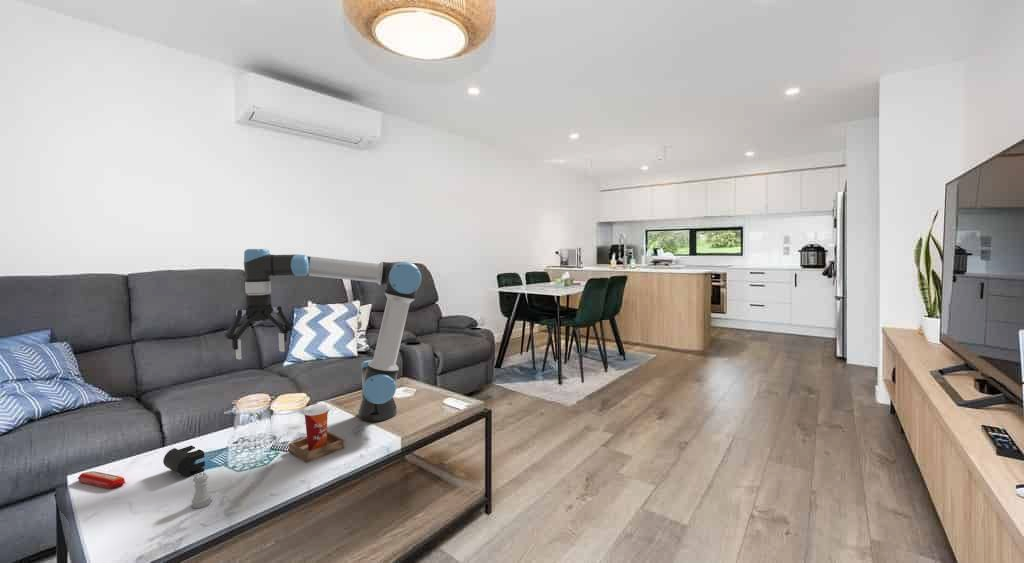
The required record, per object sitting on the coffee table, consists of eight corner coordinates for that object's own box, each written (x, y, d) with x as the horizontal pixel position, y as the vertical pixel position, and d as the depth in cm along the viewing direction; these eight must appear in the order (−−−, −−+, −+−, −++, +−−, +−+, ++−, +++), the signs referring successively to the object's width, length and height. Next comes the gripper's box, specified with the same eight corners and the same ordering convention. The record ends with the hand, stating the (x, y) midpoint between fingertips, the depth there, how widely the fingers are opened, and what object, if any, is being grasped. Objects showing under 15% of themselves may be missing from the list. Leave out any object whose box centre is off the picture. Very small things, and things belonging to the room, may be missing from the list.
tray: (326, 438, 149) (326, 430, 149) (344, 448, 142) (344, 439, 142) (289, 452, 139) (288, 443, 139) (306, 463, 132) (305, 453, 132)
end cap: (163, 473, 126) (162, 451, 126) (190, 463, 132) (189, 442, 132) (178, 482, 121) (177, 459, 121) (206, 471, 127) (204, 450, 127)
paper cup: (320, 453, 136) (318, 412, 135) (299, 451, 138) (298, 410, 137) (334, 443, 144) (333, 403, 143) (315, 441, 145) (313, 402, 144)
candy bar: (128, 485, 120) (127, 475, 120) (113, 492, 117) (112, 481, 116) (90, 477, 125) (90, 467, 124) (75, 483, 121) (74, 473, 121)
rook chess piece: (189, 510, 107) (187, 481, 107) (194, 501, 111) (192, 472, 111) (209, 506, 109) (208, 477, 109) (214, 497, 113) (212, 469, 113)
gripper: (291, 290, 154) (293, 347, 155) (211, 296, 135) (214, 360, 136) (300, 291, 149) (302, 349, 151) (219, 297, 130) (222, 364, 131)
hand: (261, 355), depth 143 cm, fingers open, 13 cm apart
